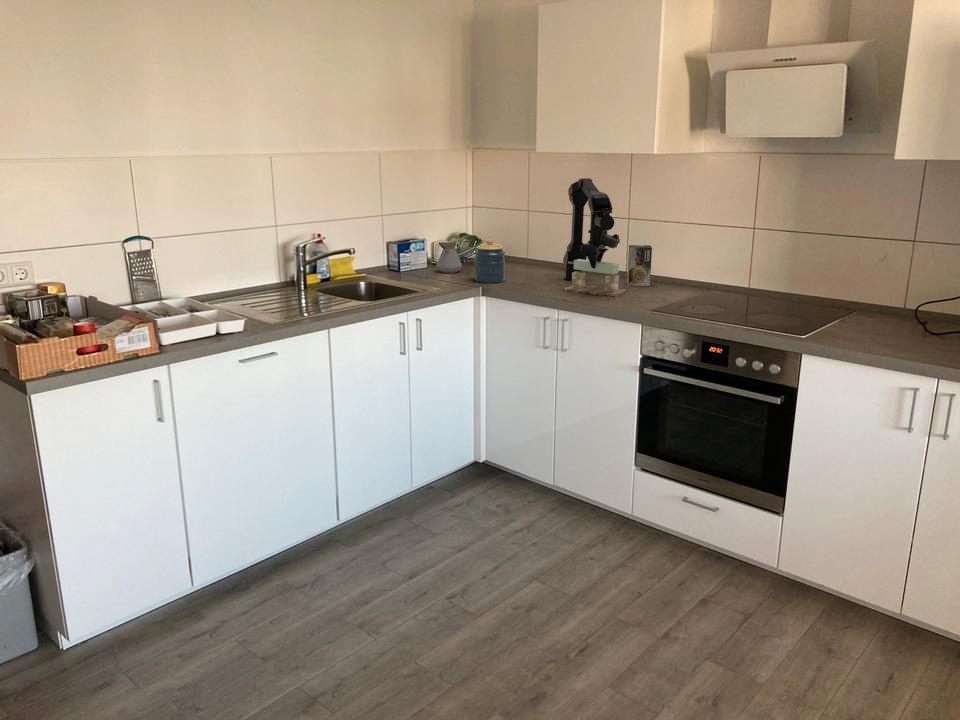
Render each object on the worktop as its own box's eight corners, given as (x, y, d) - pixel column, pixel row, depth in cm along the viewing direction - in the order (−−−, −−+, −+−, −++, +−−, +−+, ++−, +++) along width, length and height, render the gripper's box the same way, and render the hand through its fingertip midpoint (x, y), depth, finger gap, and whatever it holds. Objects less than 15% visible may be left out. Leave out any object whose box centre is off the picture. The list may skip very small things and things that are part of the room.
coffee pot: (440, 269, 352) (440, 236, 348) (464, 270, 349) (464, 237, 345) (426, 277, 332) (425, 242, 328) (451, 278, 329) (451, 243, 325)
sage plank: (573, 269, 305) (573, 260, 304) (578, 267, 308) (579, 259, 307) (613, 274, 294) (613, 265, 293) (618, 272, 297) (619, 263, 296)
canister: (503, 277, 331) (504, 236, 326) (506, 283, 319) (506, 240, 314) (473, 278, 331) (474, 236, 326) (474, 283, 318) (474, 240, 313)
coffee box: (648, 283, 320) (651, 245, 315) (650, 286, 314) (652, 247, 309) (626, 283, 321) (628, 244, 316) (627, 286, 315) (629, 246, 310)
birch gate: (563, 290, 304) (564, 273, 302) (574, 286, 313) (575, 269, 311) (616, 296, 293) (617, 278, 291) (626, 292, 302) (627, 274, 300)
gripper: (608, 231, 284) (606, 273, 289) (625, 226, 300) (623, 266, 304) (580, 229, 290) (579, 270, 294) (599, 224, 305) (597, 263, 310)
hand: (595, 267), depth 300 cm, fingers closed on sage plank, 4 cm apart
